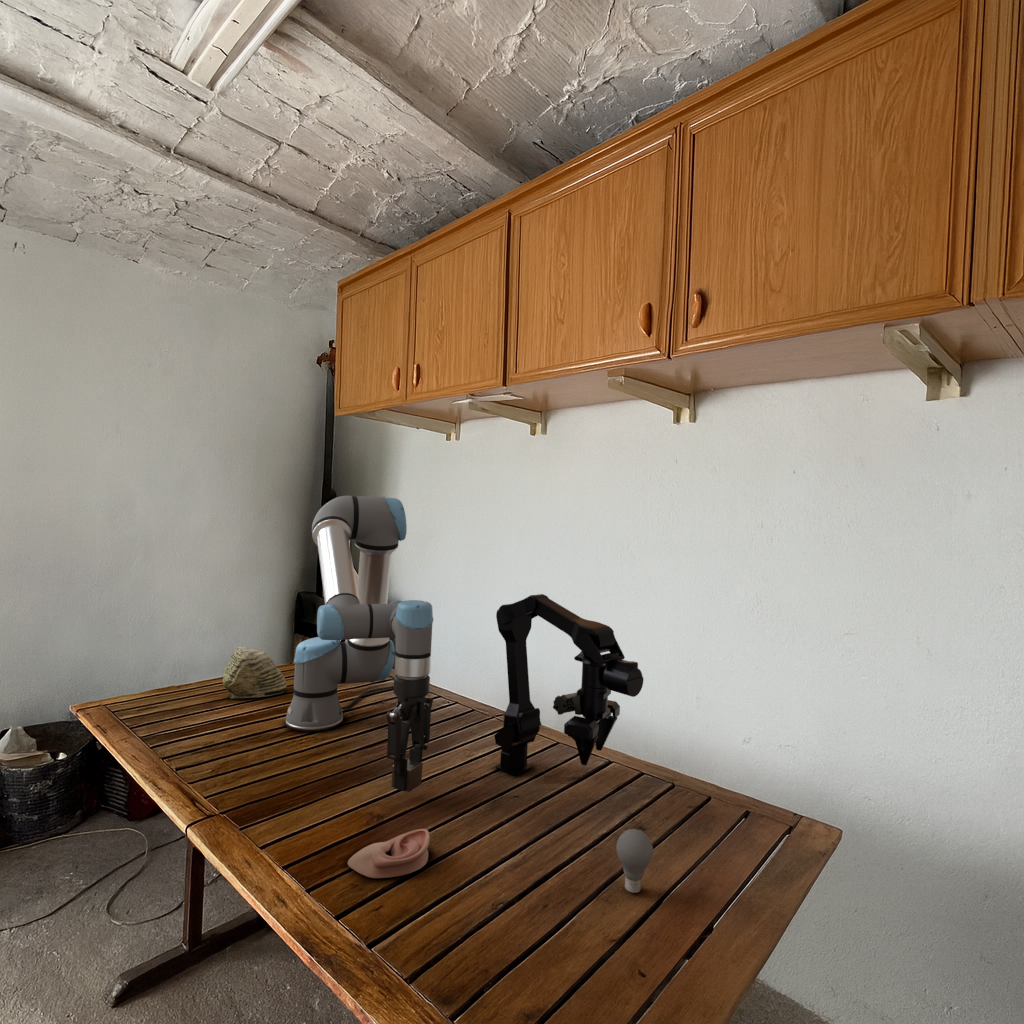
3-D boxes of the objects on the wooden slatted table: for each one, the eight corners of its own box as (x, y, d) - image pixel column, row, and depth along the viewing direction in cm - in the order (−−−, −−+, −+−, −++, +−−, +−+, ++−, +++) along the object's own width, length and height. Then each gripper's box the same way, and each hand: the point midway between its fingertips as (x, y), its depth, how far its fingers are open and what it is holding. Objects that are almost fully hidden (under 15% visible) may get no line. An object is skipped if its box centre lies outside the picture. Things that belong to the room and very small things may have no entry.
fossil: (218, 695, 195) (220, 647, 195) (278, 685, 208) (279, 640, 207) (228, 703, 189) (230, 653, 188) (289, 692, 201) (290, 645, 201)
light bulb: (610, 879, 108) (613, 822, 108) (644, 879, 109) (647, 822, 109) (619, 902, 102) (622, 840, 102) (655, 901, 103) (658, 840, 103)
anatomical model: (339, 849, 107) (368, 816, 118) (339, 872, 107) (367, 837, 118) (414, 862, 104) (436, 827, 115) (413, 885, 104) (435, 848, 116)
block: (404, 778, 137) (405, 758, 137) (421, 784, 135) (422, 763, 135) (391, 786, 133) (392, 765, 133) (409, 792, 131) (410, 770, 131)
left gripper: (421, 663, 143) (417, 765, 144) (371, 681, 127) (366, 796, 128) (449, 668, 140) (445, 773, 140) (401, 688, 124) (396, 806, 125)
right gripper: (575, 669, 147) (572, 735, 147) (542, 688, 131) (539, 764, 131) (622, 677, 142) (618, 746, 142) (593, 698, 125) (589, 776, 126)
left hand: (407, 784), depth 134 cm, fingers closed on block, 4 cm apart
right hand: (591, 757), depth 135 cm, fingers open, 9 cm apart
